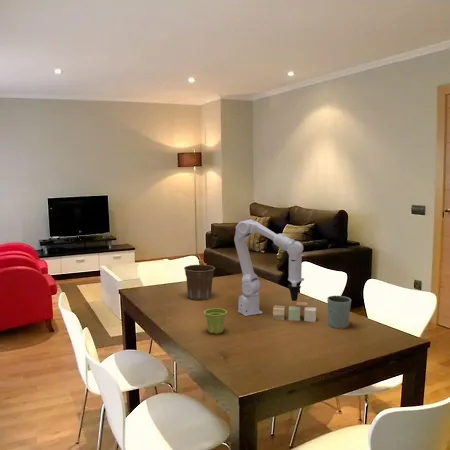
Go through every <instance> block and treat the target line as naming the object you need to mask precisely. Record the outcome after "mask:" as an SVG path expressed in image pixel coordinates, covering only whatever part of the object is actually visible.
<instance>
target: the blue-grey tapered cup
mask: <svg viewBox="0 0 450 450" xmlns="http://www.w3.org/2000/svg"><path fill="white" fill-rule="evenodd" d="M326 302H327V324H328V326H329V327H330V328H333V329H337V328H339V330H340V329H342V328H343V329H347V328H349V323H350V321H349V320H350V311H351V305H352V299H351V298H350V297H348V296H346V295H345V296H344V295H330V296H327V301H326Z"/></svg>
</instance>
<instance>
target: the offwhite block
mask: <svg viewBox="0 0 450 450" xmlns="http://www.w3.org/2000/svg"><path fill="white" fill-rule="evenodd" d="M316 314H317V307H309V306H307V307H305V310H304V316H303V318H304V320H303V321H304V322H311V323H315V322H317V321H316V320H317V315H316Z"/></svg>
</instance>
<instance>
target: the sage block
mask: <svg viewBox="0 0 450 450" xmlns="http://www.w3.org/2000/svg"><path fill="white" fill-rule="evenodd" d="M288 321H296V322H300V321H301V316H300V307H296V306H288Z"/></svg>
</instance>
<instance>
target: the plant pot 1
mask: <svg viewBox="0 0 450 450" xmlns="http://www.w3.org/2000/svg"><path fill="white" fill-rule="evenodd" d="M215 269H216V267H214V266H213V265H208V264H190V265H187V266H185V267H184V273H185V277H186V288H187V297H188V298H189V300H192V299H194V301H199V300H201V301H204V299H206V300H209V299H210V298H211V297H212V286H213V277H214V273H215ZM208 298H209V299H208Z"/></svg>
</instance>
